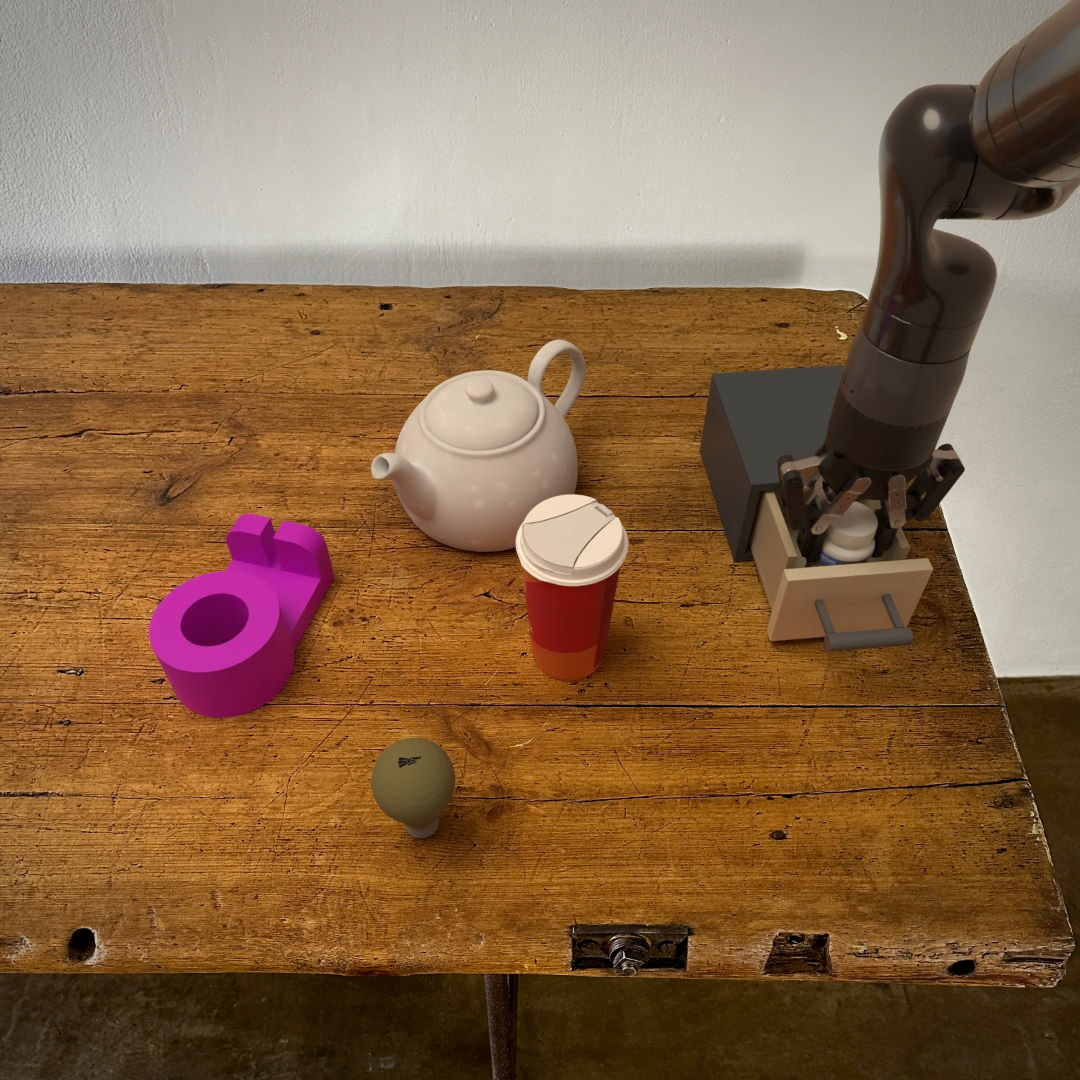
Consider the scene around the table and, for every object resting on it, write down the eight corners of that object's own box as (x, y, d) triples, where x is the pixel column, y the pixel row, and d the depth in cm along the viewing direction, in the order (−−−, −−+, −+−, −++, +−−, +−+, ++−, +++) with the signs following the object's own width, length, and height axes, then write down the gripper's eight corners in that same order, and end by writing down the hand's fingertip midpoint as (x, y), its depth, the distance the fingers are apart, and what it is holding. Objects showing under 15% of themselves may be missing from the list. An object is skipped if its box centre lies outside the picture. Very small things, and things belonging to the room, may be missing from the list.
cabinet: (871, 551, 88) (901, 473, 81) (733, 562, 88) (751, 484, 80) (823, 442, 98) (846, 364, 91) (699, 450, 97) (712, 373, 90)
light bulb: (409, 880, 68) (393, 814, 60) (370, 819, 71) (350, 750, 63) (476, 835, 70) (468, 767, 63) (435, 778, 73) (423, 707, 66)
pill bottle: (796, 599, 81) (817, 531, 75) (804, 559, 84) (825, 490, 78) (854, 614, 80) (880, 545, 74) (860, 572, 83) (885, 503, 77)
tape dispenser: (261, 729, 76) (243, 685, 71) (148, 701, 78) (123, 656, 73) (342, 578, 86) (331, 530, 82) (241, 556, 88) (224, 508, 83)
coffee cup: (572, 596, 85) (577, 473, 74) (638, 655, 81) (653, 534, 70) (497, 647, 81) (490, 525, 70) (562, 712, 77) (565, 593, 66)
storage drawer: (926, 676, 78) (957, 617, 72) (785, 689, 77) (805, 629, 71) (854, 513, 90) (875, 450, 84) (731, 522, 90) (745, 460, 84)
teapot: (590, 565, 87) (596, 454, 77) (385, 566, 87) (364, 455, 77) (582, 427, 100) (587, 316, 90) (403, 428, 100) (388, 316, 90)
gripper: (811, 429, 63) (766, 595, 76) (1022, 415, 64) (943, 581, 77) (780, 359, 68) (743, 525, 81) (976, 347, 69) (909, 513, 82)
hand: (841, 551), depth 79 cm, fingers closed on pill bottle, 4 cm apart
